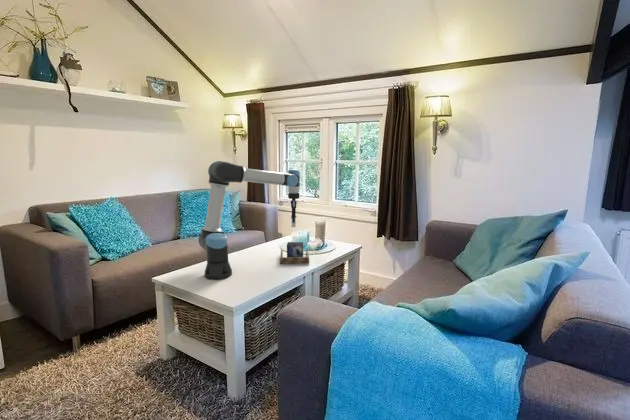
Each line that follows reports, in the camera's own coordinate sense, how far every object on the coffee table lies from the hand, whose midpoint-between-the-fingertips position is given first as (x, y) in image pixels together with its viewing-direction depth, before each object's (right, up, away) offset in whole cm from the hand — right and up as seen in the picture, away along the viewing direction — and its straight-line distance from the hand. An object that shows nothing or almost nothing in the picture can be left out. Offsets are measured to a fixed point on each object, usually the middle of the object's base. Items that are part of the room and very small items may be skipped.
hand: (293, 226), depth 232 cm
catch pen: (+1, -21, -9) cm, 23 cm away
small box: (+2, -21, -8) cm, 22 cm away
